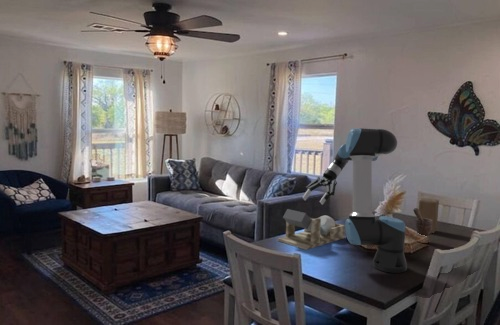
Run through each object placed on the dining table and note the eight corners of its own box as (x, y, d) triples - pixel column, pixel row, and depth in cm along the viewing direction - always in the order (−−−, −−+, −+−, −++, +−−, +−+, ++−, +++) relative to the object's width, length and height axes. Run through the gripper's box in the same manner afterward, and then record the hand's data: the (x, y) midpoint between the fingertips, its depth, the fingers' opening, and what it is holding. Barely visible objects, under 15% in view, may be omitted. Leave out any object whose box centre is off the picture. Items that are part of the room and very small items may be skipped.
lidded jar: (310, 221, 239) (317, 228, 245) (319, 232, 231) (326, 239, 237) (324, 209, 238) (331, 216, 244) (333, 220, 230) (340, 227, 236)
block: (416, 231, 256) (418, 199, 254) (420, 228, 265) (422, 197, 263) (433, 234, 251) (436, 202, 249) (436, 230, 259) (439, 199, 257)
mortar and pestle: (423, 246, 225) (426, 210, 223) (409, 242, 232) (411, 207, 230) (433, 242, 233) (436, 208, 231) (418, 238, 239) (421, 205, 237)
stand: (305, 249, 214) (307, 221, 212) (278, 240, 228) (278, 214, 227) (344, 238, 237) (345, 212, 236) (316, 230, 252) (317, 206, 250)
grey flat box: (303, 222, 213) (308, 211, 216) (281, 216, 225) (286, 206, 227) (322, 244, 227) (328, 233, 230) (301, 237, 238) (306, 227, 241)
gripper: (351, 180, 229) (331, 209, 222) (319, 174, 249) (300, 201, 242) (345, 171, 226) (325, 200, 218) (313, 166, 246) (294, 193, 238)
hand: (312, 201), depth 230 cm, fingers open, 13 cm apart
